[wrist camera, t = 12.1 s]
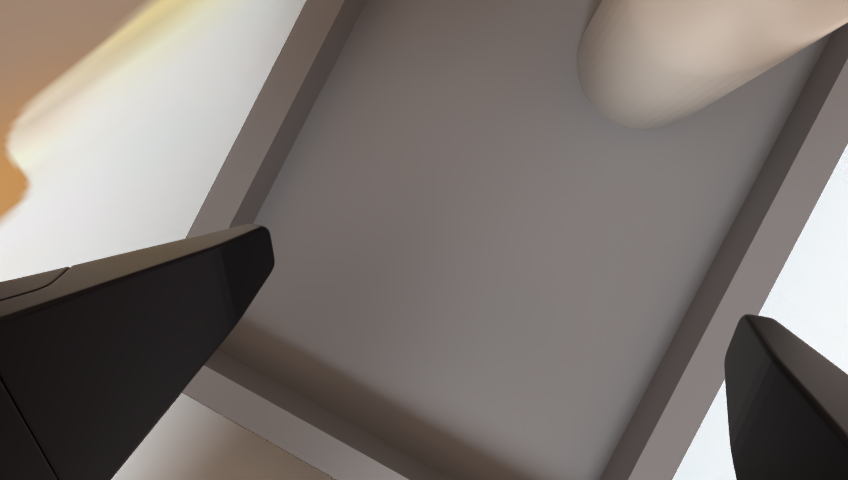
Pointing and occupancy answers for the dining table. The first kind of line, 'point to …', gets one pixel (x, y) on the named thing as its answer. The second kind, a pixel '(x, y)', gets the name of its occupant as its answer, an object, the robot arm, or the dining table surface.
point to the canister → (690, 52)
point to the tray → (500, 244)
